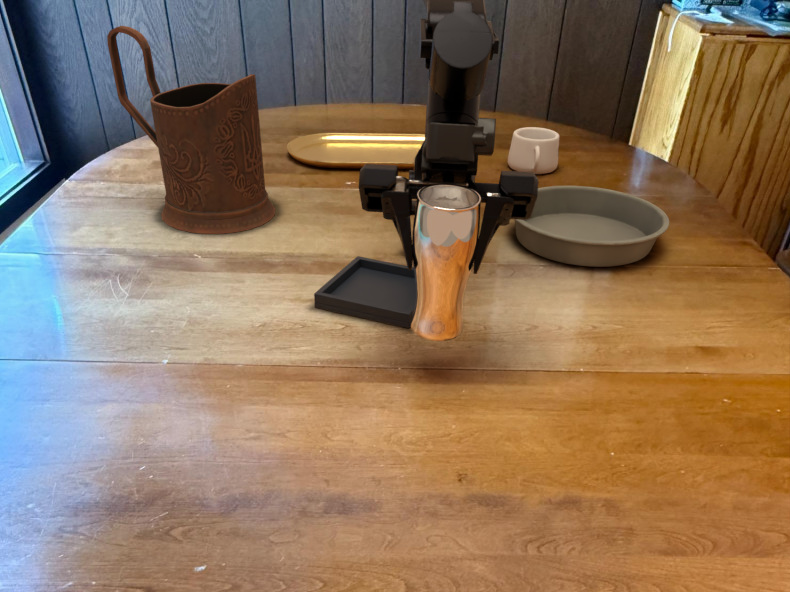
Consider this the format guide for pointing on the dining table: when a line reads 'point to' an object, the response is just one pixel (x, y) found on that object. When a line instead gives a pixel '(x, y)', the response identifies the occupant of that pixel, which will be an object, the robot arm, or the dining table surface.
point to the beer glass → (443, 257)
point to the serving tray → (371, 292)
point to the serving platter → (356, 149)
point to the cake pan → (591, 226)
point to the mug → (534, 150)
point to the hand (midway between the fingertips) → (442, 270)
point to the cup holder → (203, 148)
